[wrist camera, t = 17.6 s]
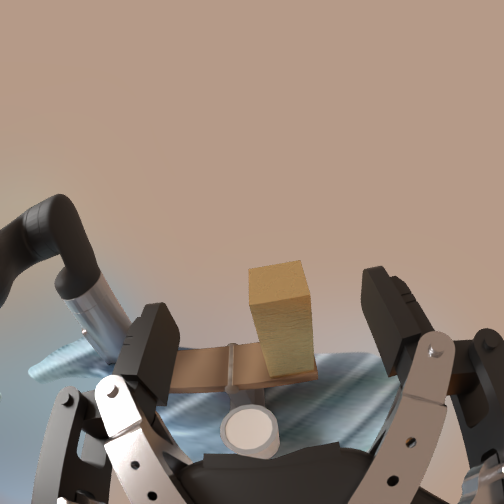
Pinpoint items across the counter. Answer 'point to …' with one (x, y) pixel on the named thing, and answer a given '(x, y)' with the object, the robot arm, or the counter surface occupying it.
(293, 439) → the counter surface
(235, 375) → the beam
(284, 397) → the counter surface
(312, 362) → the block
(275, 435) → the beige short cylinder
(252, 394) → the beam stand
